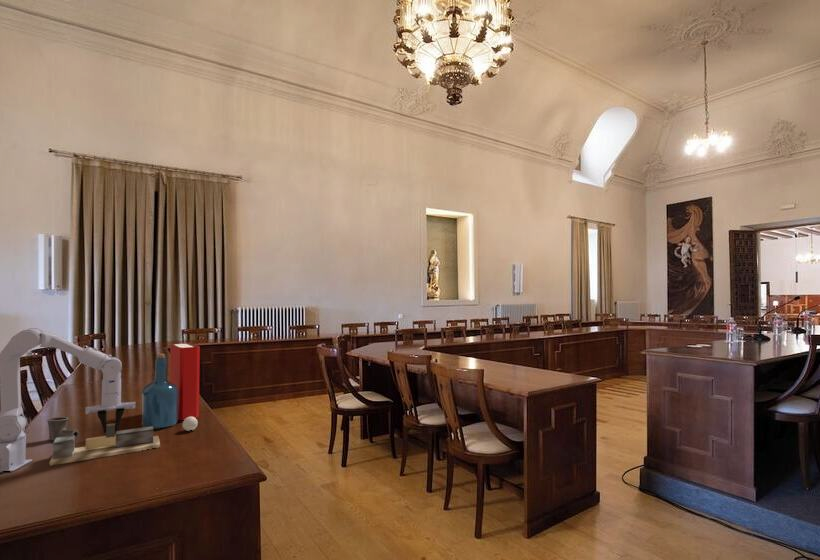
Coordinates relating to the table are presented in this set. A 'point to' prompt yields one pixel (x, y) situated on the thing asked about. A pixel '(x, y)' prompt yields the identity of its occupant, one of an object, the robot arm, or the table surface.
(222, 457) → the table surface
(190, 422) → the white oval ball
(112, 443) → the tan flat block
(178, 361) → the book
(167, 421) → the wine bottle
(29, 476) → the table surface
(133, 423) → the table surface
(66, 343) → the robot arm
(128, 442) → the grey blocks on plank
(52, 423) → the pipe
